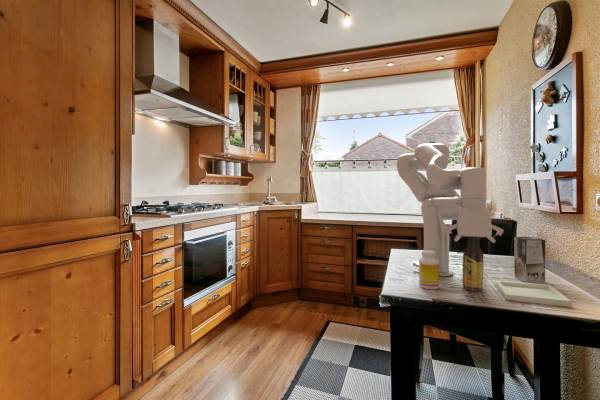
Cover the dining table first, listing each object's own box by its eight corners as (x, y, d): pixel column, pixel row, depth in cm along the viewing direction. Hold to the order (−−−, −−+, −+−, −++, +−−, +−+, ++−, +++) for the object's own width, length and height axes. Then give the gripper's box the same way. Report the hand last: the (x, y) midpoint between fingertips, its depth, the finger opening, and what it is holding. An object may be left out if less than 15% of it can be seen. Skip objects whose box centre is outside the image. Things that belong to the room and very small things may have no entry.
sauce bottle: (459, 286, 108) (458, 231, 107) (476, 286, 107) (476, 231, 107) (468, 292, 101) (468, 234, 101) (487, 292, 101) (487, 233, 100)
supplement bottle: (441, 290, 104) (441, 253, 104) (421, 289, 105) (421, 253, 105) (436, 284, 111) (436, 249, 110) (417, 283, 112) (417, 249, 111)
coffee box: (546, 284, 108) (546, 240, 108) (526, 283, 110) (526, 239, 109) (532, 277, 117) (532, 236, 117) (513, 276, 119) (513, 236, 118)
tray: (505, 300, 94) (505, 294, 94) (495, 285, 108) (495, 280, 108) (570, 306, 88) (570, 300, 87) (550, 290, 102) (550, 284, 102)
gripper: (445, 204, 103) (446, 253, 103) (505, 203, 96) (506, 256, 96) (444, 203, 110) (445, 250, 110) (500, 202, 103) (501, 252, 103)
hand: (474, 253), depth 103 cm, fingers open, 9 cm apart
